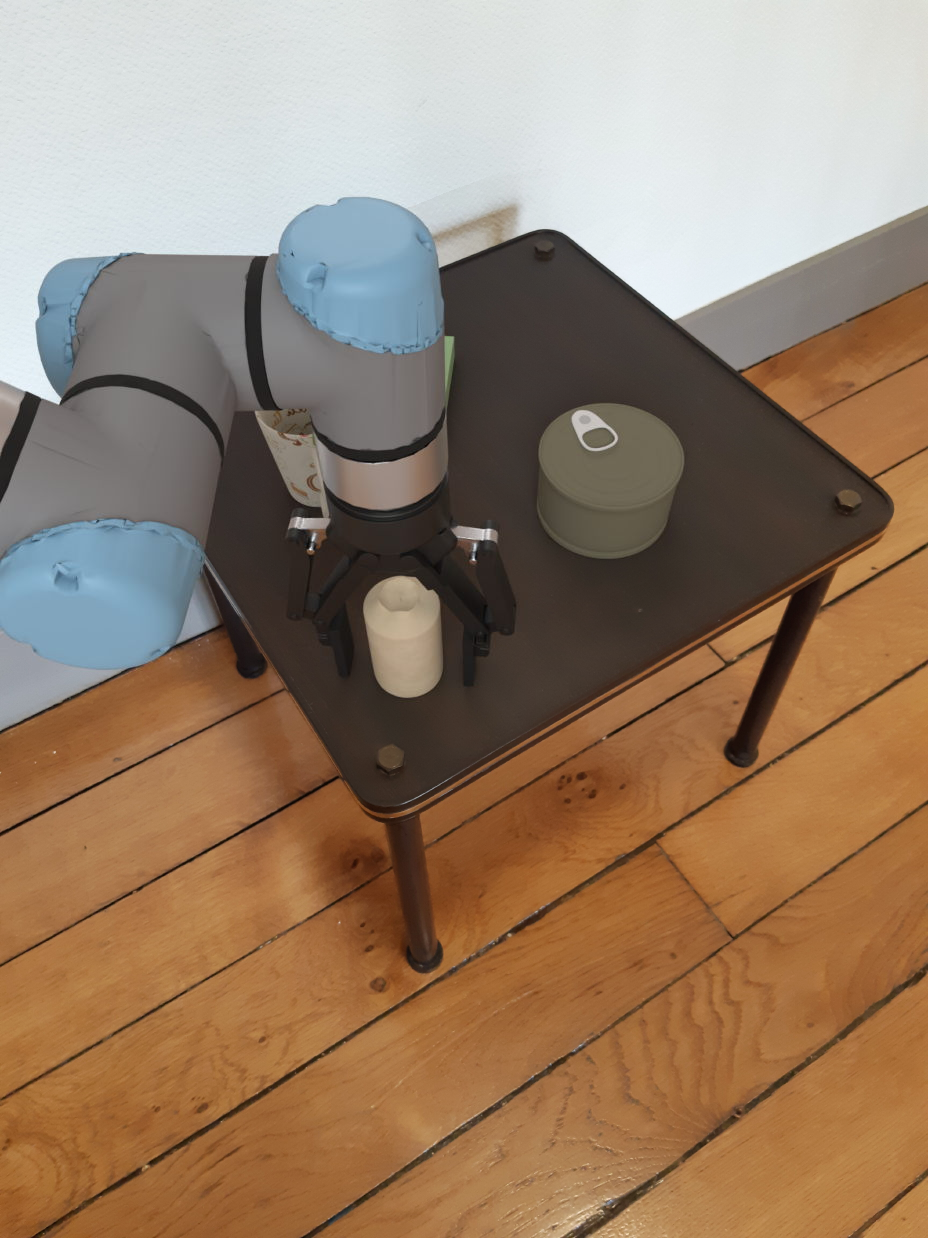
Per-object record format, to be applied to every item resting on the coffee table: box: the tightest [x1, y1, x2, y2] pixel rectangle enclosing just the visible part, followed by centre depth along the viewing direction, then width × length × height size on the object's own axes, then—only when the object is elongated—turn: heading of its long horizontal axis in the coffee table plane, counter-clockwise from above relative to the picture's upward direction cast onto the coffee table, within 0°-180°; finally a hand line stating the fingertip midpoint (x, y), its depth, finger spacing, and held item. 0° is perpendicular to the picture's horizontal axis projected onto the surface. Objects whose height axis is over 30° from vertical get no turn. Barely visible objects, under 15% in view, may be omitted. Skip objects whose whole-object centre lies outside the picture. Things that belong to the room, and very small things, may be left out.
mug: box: [254, 409, 329, 518], centre depth 80 cm, size 8×13×10 cm, turn 18°
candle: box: [362, 575, 444, 699], centre depth 70 cm, size 6×6×10 cm
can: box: [536, 402, 685, 560], centre depth 81 cm, size 12×12×7 cm
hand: (408, 666), depth 74 cm, fingers open, 9 cm apart
